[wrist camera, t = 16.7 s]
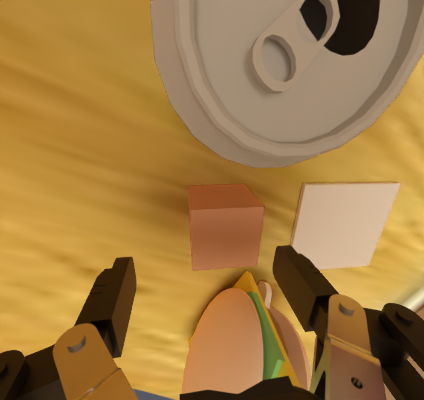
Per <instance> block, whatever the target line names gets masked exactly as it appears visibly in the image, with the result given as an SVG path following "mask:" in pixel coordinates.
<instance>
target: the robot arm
mask: <svg viewBox="0 0 424 400" xmlns="http://www.w3.org/2000/svg"><path fill="white" fill-rule="evenodd" d="M273 275H274V278H275V279H276V281H277V283H278V285H279V287H280V288H281V290H282V292H283V294H284V295H285V297H286V299H287V301H288V302H289V304H290V306H291V308H292V310H293V311H294V313H295V315H296V317H297V318H298V320H299V322H300V324H301V325H302V327H303V329H304V331H305V332H308V331H314V332H315V333H316V335H317V336H316V339H315V349H314V359H313V370H312V379H311V384H310V388H309V391H308V390H305V389H303V388H301V387H297V386H293V385H292V382H291V380H290V378H289V376H284V377H278V378H272V379H266V380H263V381H261V382H259V383H257V384H255V385H254V386H252V387H250V388H248V389H246V390H245V391H243V392H241V393H238V394H234V393H228V392H221V391H215V390H202V391H196V392H191V393H185V394H180V400H386V395H385V388H384V384H385V385H386V386H387V388H388V389H389V391H390V392H391V394H392V395H393V396H394V398H395V399H396V400H424V379H423V378H422V377H421V375H420V374H419V373H418V372H417V371H416V369H415V368H414V367H413V366H412V365H411V364H410V362H409V361H408V360H407V358H408V357H409V355H410V357H411V358H412V359H413V360H414V361H415V362H416V363H417V365H418V366H419V367H420V368H421V369H422V370H423V371H424V320H423V319H422V318H420V317H419V316H418V315H417V314H416V313H415V312H413V311H412V310H410V309H408V308H406V307H404V306H402V305H399V304H395V303H387V304H385V305H384V307H383V309H382V311H379V310H373V309H367V308H362V306H361V305H360V304H359V303H358V302H356V301H355V300H354V299H352V298H350V297H348V296H345V295H341V294H339V293H338V292H337V291H336V290H335V289H334V287H333V286H332V285H331V284H330V283H329V282H328V280H327V279H326V278H325V277H324V276H323V275H322V273H320V271H319V270H318V269H317V268H316V267H315V265H314V264H313V263H312V262H311V261H310V259H308V258H307V257H305V256H304V255H302V254H301V253H299V254H298V253H297V252H296V250H295V249H294V248H293V247H292V246H291V245H286V246H277V248H276V251H275V257H274V262H273ZM135 292H136V275H135V269H134V262H133V258H132V257H121V258H116V260H115V262H114V265H113V267H112V268H110V269H105V270H104V271H103V272H102V273H101V274H100V275H99V276H98V277H97V278H96V281H95V283H94V285H93V288H92V289H91V291H90V295H89V296H88V298H87V300H86V302H85V304H84V306H83V308H82V310H81V313H80V315H79V317H78V319H77V321H76V323H75V325H74V327H72V328H70V329H69V330H67V331H66V332H65V333H64V334H63V335H62V336H61V337H60V338H59V339H58V340H57V342H56V343H55V344H54V345H52V346H50V347H48V348H45V349H43V350H40V351H38V352H35V353H33V354H30V355H28V356H25V357H24V355H23V354H22V353H21V352H20V351H17V350H10V351H6V352H3V353H0V400H138V398H137V396H136V394H135V393H134V391H133V389H132V387H131V385H130V384H129V382H128V380H127V378H126V376H125V375H124V373H123V371H122V370H121V368H118V367H117V365H116V364H115V362H114V360H113V358H117V357H121V354H122V350H123V346H124V341H125V337H126V332H127V328H128V323H129V319H130V314H131V310H132V305H133V301H134V297H135ZM383 382H384V383H383Z"/></svg>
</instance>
